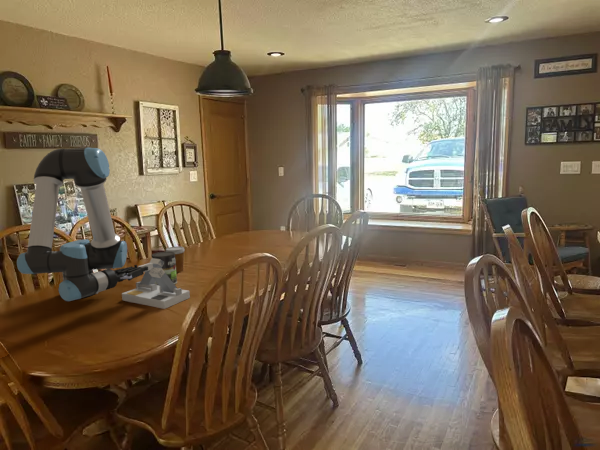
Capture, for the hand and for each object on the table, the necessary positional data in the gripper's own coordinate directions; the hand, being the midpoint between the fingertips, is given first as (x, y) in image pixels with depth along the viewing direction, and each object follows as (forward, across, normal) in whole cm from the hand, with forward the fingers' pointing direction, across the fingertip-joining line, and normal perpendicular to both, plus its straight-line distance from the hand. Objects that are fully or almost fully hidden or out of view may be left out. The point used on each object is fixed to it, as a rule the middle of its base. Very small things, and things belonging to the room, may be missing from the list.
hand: (151, 266), depth 184 cm
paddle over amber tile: (-3, -1, -8) cm, 8 cm away
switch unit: (-4, +6, -12) cm, 15 cm away
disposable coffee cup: (+31, -18, -12) cm, 37 cm away
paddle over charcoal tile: (-3, +13, -8) cm, 16 cm away
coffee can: (+13, -7, -12) cm, 19 cm away
